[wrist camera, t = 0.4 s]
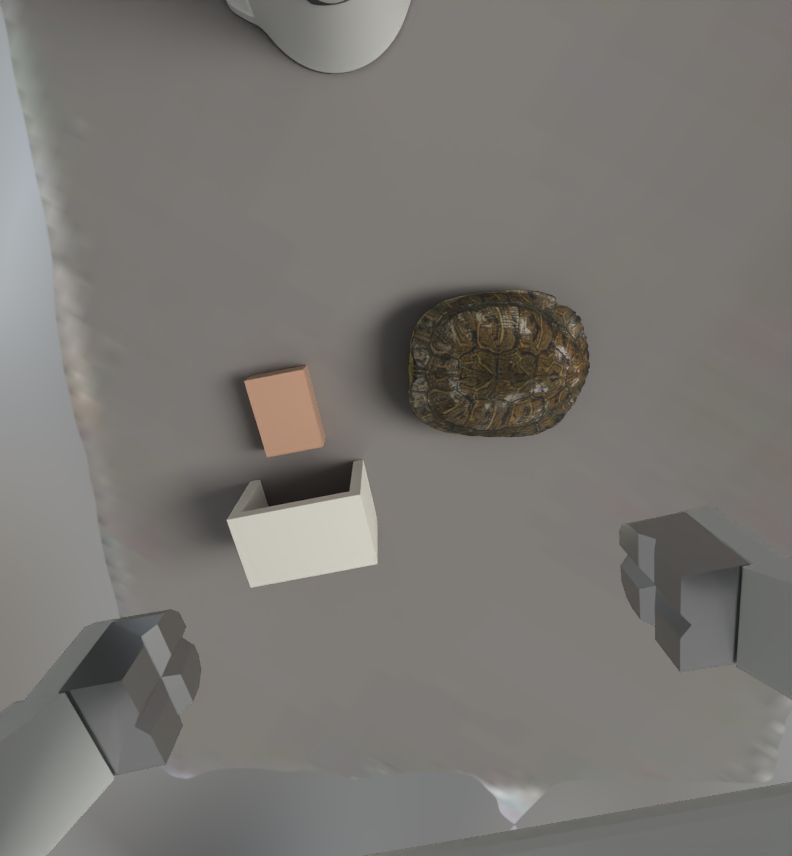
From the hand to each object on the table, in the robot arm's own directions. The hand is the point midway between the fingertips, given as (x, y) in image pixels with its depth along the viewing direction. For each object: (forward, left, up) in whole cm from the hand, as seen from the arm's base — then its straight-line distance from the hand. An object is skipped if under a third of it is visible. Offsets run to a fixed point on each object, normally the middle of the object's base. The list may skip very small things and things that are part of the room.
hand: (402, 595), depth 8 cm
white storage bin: (+19, -12, -44) cm, 50 cm away
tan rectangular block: (+7, -13, -45) cm, 47 cm away
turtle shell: (+7, +12, -45) cm, 47 cm away
